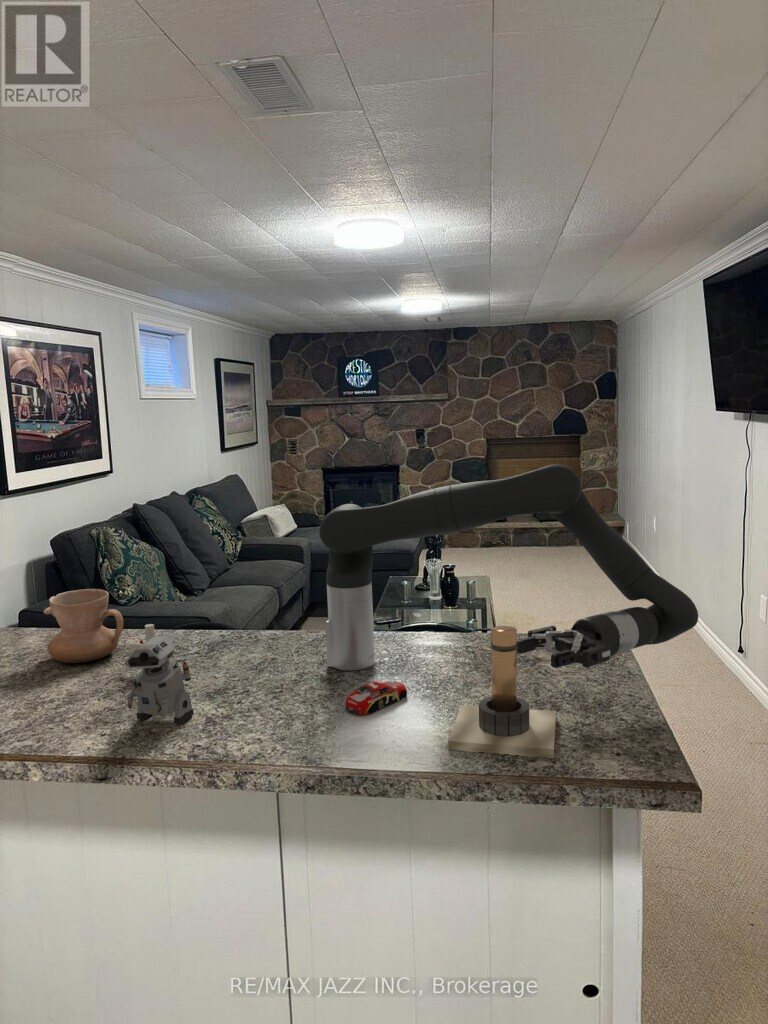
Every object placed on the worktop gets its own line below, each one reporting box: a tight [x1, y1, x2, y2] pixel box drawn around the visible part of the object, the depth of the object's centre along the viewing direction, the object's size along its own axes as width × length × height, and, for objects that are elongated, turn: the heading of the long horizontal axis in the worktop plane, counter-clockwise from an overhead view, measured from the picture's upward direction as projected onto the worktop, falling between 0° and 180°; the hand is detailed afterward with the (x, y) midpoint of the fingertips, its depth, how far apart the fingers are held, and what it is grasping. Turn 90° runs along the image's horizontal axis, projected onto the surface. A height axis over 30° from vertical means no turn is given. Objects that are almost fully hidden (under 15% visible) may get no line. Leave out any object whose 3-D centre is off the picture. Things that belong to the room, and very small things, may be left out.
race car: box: [344, 681, 408, 715], centre depth 136 cm, size 13×5×4 cm, turn 135°
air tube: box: [490, 625, 518, 712], centre depth 121 cm, size 4×4×16 cm
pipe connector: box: [128, 623, 156, 654], centre depth 156 cm, size 10×10×10 cm
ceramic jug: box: [43, 588, 124, 664], centre depth 167 cm, size 18×14×14 cm
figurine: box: [124, 634, 195, 726], centre depth 130 cm, size 9×12×15 cm
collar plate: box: [447, 695, 557, 760], centre depth 122 cm, size 16×14×5 cm
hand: (534, 654), depth 123 cm, fingers open, 8 cm apart
